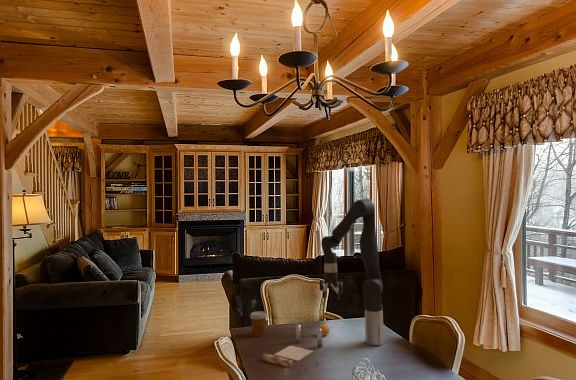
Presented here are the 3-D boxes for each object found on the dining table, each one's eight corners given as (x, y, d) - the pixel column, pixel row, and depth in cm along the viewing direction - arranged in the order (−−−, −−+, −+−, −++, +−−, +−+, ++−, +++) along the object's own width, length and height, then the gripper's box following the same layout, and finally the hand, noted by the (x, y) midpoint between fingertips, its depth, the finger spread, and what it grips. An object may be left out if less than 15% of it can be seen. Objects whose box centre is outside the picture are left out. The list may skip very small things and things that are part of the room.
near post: (323, 346, 210) (322, 328, 210) (320, 347, 208) (320, 330, 208) (318, 345, 212) (318, 327, 212) (316, 346, 210) (315, 329, 210)
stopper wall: (292, 365, 187) (292, 360, 187) (290, 367, 185) (290, 361, 185) (265, 358, 196) (265, 353, 196) (262, 359, 194) (262, 354, 194)
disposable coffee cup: (268, 332, 234) (267, 311, 235) (265, 337, 225) (265, 315, 225) (252, 331, 235) (251, 310, 236) (248, 337, 226) (248, 315, 226)
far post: (301, 341, 218) (301, 324, 218) (299, 343, 215) (298, 326, 216) (297, 340, 219) (297, 323, 219) (295, 342, 217) (294, 325, 217)
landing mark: (313, 351, 204) (313, 350, 204) (298, 360, 192) (298, 360, 192) (290, 345, 212) (290, 345, 212) (274, 354, 200) (274, 354, 200)
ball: (331, 334, 227) (331, 323, 228) (326, 337, 223) (325, 326, 223) (322, 332, 231) (321, 322, 231) (316, 336, 226) (316, 325, 226)
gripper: (316, 270, 236) (317, 299, 236) (338, 272, 228) (339, 302, 228) (323, 268, 242) (323, 296, 242) (344, 270, 234) (345, 299, 234)
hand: (331, 299), depth 235 cm, fingers open, 8 cm apart
